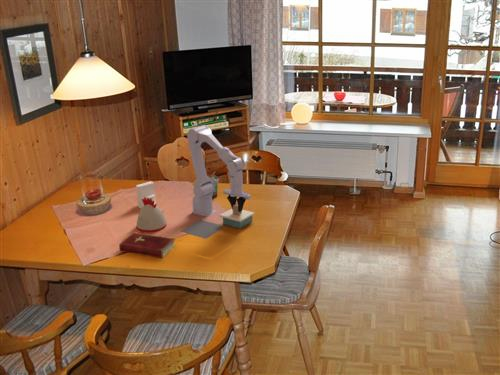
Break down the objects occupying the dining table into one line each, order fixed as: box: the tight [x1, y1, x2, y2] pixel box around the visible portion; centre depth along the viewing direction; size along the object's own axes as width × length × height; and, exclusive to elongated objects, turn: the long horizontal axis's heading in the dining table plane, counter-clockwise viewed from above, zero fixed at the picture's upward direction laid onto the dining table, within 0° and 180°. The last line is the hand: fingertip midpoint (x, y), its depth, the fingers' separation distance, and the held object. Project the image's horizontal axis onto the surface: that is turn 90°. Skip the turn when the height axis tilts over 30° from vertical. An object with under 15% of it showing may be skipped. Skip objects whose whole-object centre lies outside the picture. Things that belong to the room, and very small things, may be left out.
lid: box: [219, 203, 256, 222], centre depth 268 cm, size 12×12×5 cm
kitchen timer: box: [136, 197, 168, 234], centre depth 266 cm, size 14×14×15 cm
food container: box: [209, 174, 220, 200], centre depth 302 cm, size 12×6×10 cm, turn 168°
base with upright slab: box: [136, 180, 157, 210], centre depth 291 cm, size 9×9×12 cm
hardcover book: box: [119, 232, 176, 259], centre depth 248 cm, size 12×21×4 cm, turn 69°
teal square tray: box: [222, 215, 253, 230], centre depth 270 cm, size 10×10×4 cm
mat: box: [180, 219, 227, 240], centre depth 265 cm, size 15×15×1 cm
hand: (237, 210), depth 268 cm, fingers closed on lid, 3 cm apart
